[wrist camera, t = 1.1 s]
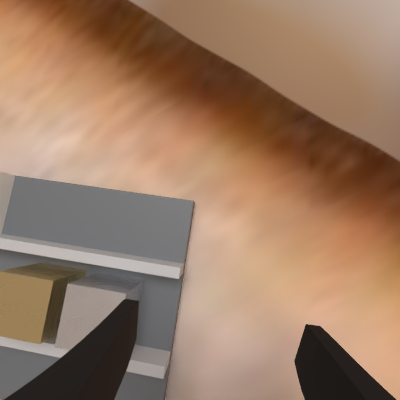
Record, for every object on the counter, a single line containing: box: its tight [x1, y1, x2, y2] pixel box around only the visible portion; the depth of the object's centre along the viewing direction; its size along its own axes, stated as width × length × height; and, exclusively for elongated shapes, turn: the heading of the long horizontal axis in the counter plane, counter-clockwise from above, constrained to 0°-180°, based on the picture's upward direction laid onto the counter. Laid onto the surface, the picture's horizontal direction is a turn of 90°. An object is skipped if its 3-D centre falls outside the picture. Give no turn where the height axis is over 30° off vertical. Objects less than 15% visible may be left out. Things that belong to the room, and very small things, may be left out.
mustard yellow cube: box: [0, 262, 86, 344], centre depth 17 cm, size 4×4×4 cm
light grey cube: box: [55, 272, 144, 350], centre depth 17 cm, size 4×4×4 cm
